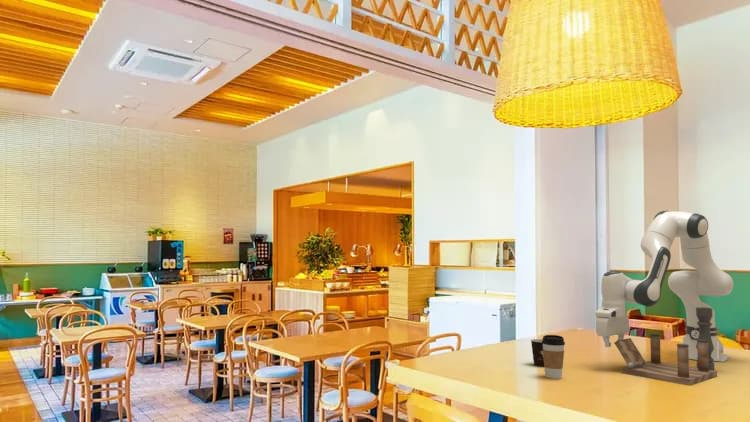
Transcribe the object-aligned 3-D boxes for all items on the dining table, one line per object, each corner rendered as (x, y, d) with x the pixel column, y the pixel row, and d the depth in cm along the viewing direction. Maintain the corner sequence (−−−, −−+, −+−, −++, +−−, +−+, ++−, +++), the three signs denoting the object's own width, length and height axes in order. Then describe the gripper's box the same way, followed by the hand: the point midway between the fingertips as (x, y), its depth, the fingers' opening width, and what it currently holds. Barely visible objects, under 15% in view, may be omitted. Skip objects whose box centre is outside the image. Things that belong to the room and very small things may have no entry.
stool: (651, 365, 235) (650, 332, 236) (717, 376, 216) (716, 340, 217) (621, 372, 219) (620, 337, 220) (689, 385, 200) (688, 346, 201)
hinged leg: (642, 365, 224) (626, 340, 229) (646, 363, 223) (630, 338, 228) (629, 368, 217) (613, 342, 223) (634, 366, 216) (617, 340, 221)
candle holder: (717, 373, 221) (715, 309, 223) (699, 372, 223) (698, 308, 224) (711, 370, 227) (709, 307, 229) (694, 369, 229) (692, 306, 230)
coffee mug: (529, 366, 229) (529, 341, 230) (532, 362, 237) (532, 338, 238) (559, 369, 225) (559, 343, 226) (561, 365, 233) (561, 340, 234)
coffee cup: (565, 375, 213) (565, 335, 214) (565, 380, 205) (564, 338, 206) (542, 373, 216) (542, 334, 217) (541, 378, 208) (541, 337, 209)
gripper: (618, 309, 238) (619, 342, 237) (592, 312, 225) (593, 347, 224) (633, 310, 233) (634, 344, 232) (607, 313, 220) (608, 349, 219)
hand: (613, 345), depth 228 cm, fingers open, 8 cm apart
